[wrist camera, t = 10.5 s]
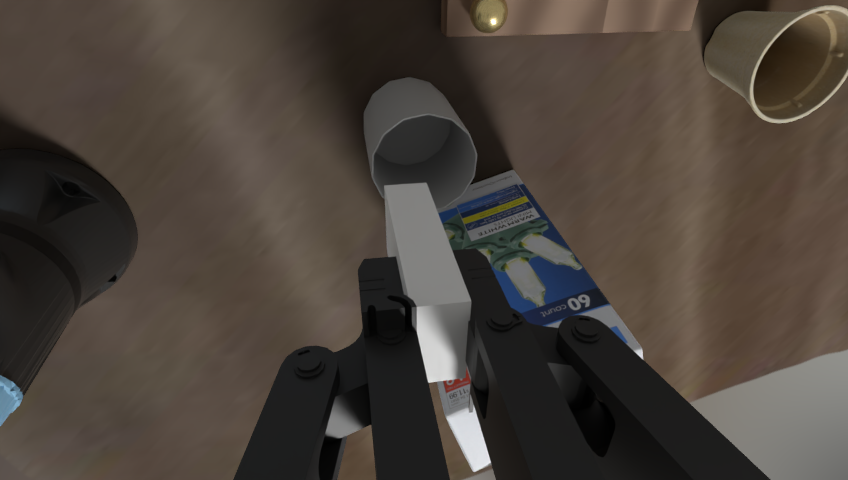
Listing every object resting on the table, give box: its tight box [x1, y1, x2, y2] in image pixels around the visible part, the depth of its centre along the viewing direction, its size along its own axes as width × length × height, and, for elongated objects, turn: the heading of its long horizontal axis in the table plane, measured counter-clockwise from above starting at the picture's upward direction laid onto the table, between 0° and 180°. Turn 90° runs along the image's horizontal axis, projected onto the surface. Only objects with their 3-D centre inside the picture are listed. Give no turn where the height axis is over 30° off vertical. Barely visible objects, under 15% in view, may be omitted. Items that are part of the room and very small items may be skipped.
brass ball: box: [470, 0, 508, 33], centre depth 39 cm, size 3×3×3 cm
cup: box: [364, 77, 478, 210], centre depth 43 cm, size 8×8×10 cm
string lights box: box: [437, 170, 643, 472], centre depth 43 cm, size 13×8×26 cm, turn 108°
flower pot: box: [704, 5, 848, 123], centre depth 44 cm, size 9×9×9 cm
